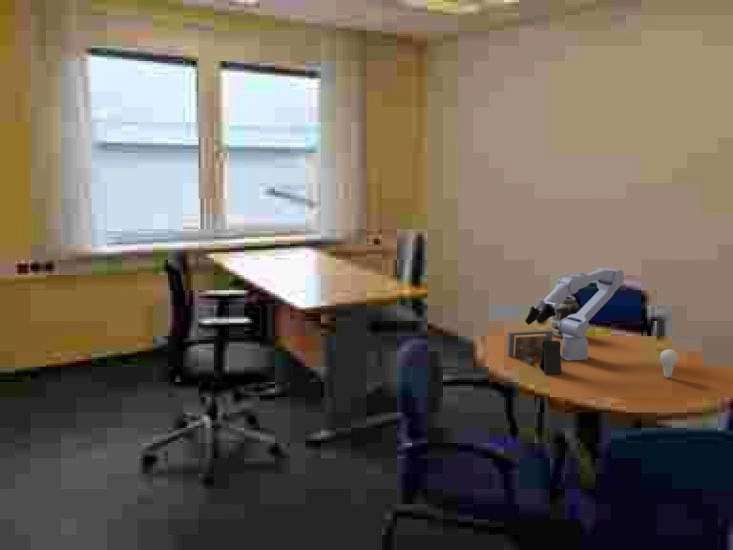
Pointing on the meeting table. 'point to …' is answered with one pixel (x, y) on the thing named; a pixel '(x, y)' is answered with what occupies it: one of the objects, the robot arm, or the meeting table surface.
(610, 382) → the meeting table surface
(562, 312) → the apothecary jar
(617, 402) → the meeting table surface
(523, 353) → the keeper
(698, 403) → the meeting table surface
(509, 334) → the grey picture frame
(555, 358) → the phone stand
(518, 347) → the door
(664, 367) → the lightbulb
